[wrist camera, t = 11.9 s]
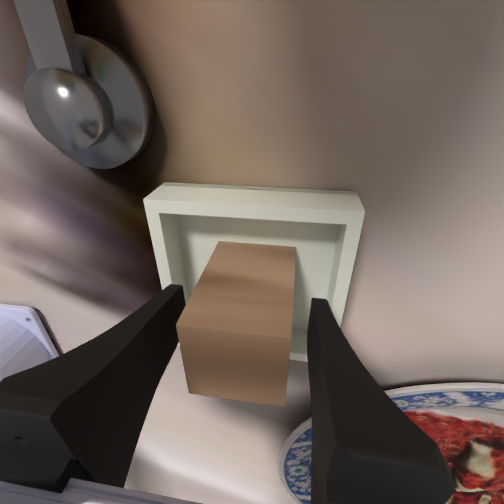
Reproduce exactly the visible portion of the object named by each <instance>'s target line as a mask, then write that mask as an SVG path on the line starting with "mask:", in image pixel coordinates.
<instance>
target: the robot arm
mask: <svg viewBox="0 0 504 504" xmlns="http://www.w3.org/2000/svg"><path fill="white" fill-rule="evenodd" d="M185 306H186V303H185V297H184V291H183V285H176V284H170V285H168V286H167V287H166V288H164V289H163V290H162V291H161V292H159V293H158V294H157V295H156V296H154V297H153V298H152V299H151V300H149V301H148V302H147V303H145V304H144V305H143V306H142V307H140V308H139V309H138V310H136V311H135V312H134V313H132V314H131V315H129V316H128V317H126V318H125V319H124V320H122V321H121V322H119V323H118V324H117V325H115V326H113V327H112V328H110V329H109V330H107V331H106V332H104V333H102V334H100V335H99V336H97V337H95V338H94V339H92V340H90V341H88V342H86V343H84V344H82V345H80V346H78V347H77V348H75V349H73V350H71V351H69V352H67V353H65V354H62V355H60V356H59V354H58V352H57V350H56V349H55V347H54V345H53V343H52V341H51V339H50V337H49V335H48V333H47V332H46V330H45V328H44V326H43V324H42V322H41V320H40V318H39V316H38V315H37V313H36V311H35V310H34V309H33V308H31V307H26V306H17V305H8V304H0V504H201V503H196V502H191V501H186V500H181V499H176V498H171V497H166V496H161V495H156V494H151V493H145V492H140V491H135V490H130V489H125V488H124V485H125V481H126V478H127V474H128V471H129V468H130V464H131V461H132V457H133V454H134V451H135V448H136V445H137V442H138V439H139V436H140V433H141V430H142V427H143V424H144V421H145V418H146V415H147V413H148V410H149V407H150V404H151V402H152V399H153V396H154V394H155V391H156V388H157V386H158V384H159V382H160V379H161V377H162V375H163V373H164V371H165V369H166V367H167V365H168V363H169V361H170V359H171V357H172V355H173V353H174V351H175V349H176V347H177V345H178V343H179V338H178V333H177V328H176V324H177V322H178V320H179V318H180V316H181V314H182V312H183V310H184V308H185ZM307 359H308V371H309V382H310V393H311V407H312V452H311V504H445V503H446V502H447V501H448V500H449V499H450V498H451V496H452V495H453V493H454V491H455V484H454V480H453V478H452V475H451V472H450V469H449V467H448V465H447V463H446V461H445V459H444V457H443V455H442V453H441V451H440V449H439V447H438V445H437V443H436V442H435V441H434V440H432V439H431V438H430V437H429V436H428V435H427V434H426V433H425V432H424V431H423V430H421V429H420V428H419V427H418V426H417V425H416V424H415V423H414V422H413V421H412V420H411V419H410V418H409V417H408V416H407V415H406V414H405V413H404V412H403V411H402V410H401V409H400V408H399V407H398V406H397V405H396V404H395V403H394V402H393V401H392V399H391V398H390V397H389V396H388V395H387V394H386V393H385V392H384V391H383V389H382V388H381V387H380V386H379V385H378V384H377V382H376V381H375V380H374V379H373V377H372V376H371V375H370V374H369V372H368V371H367V370H366V368H365V367H364V366H363V364H362V363H361V361H360V360H359V358H358V357H357V355H356V354H355V352H354V351H353V349H352V348H351V346H350V345H349V343H348V341H347V340H346V338H345V336H344V334H343V332H342V331H341V329H340V327H339V325H338V323H337V321H336V319H335V317H334V315H333V312H332V310H331V308H330V305H329V302H328V301H327V299H322V298H312V300H311V307H310V314H309V322H308V329H307Z"/></svg>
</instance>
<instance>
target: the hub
mask: <svg viewBox="0 0 504 504" xmlns="http://www.w3.org/2000/svg"><path fill="white" fill-rule="evenodd" d="M75 35H76V39H77V42H78V46H79V50H80V53H81V57H82V61H83V65H84V68H85V72H86V74H88V75H89V76H90V77H92V78H93V79H94V80H95V81H96V82H97V83H98V84H99V85H100V87H101V88H102V89H103V91H104V92H105V94H106V96H107V98H108V100H109V102H110V105H111V108H112V114H113V125H112V129H111V132H110V134H109V136H108V137H107V139H106V140H104V141H103V142H102V143H99V144H97V145H94V146H91V147H88V148H85V149H83V150H79V151H68V150H64V149H61V148H59V147H57V146H56V147H57V148H58V149H59V150H60V151H61V152H62V153H64V154H65V155H66V156H67V157H69V158H71V159H72V160H74V161H76V162H78V163H80V164H82V165H85V166H87V167H91V168H97V169H109V168H114V167H117V166H120V165H122V164H124V163H126V162H128V161H130V160H132V159H133V158H135V157H137V156H138V155H140V154H141V153H142V152H143V151H144V150H145V149H146V148H147V146H148V144H149V143H150V141H151V138H152V136H153V132H154V127H155V108H154V102H153V98H152V95H151V91H150V89H149V86H148V84H147V82H146V80H145V78H144V76H143V74H142V73H141V71H140V70H139V68H138V67H137V66H136V64H135V63H134V62H133V61H132V60H131V59H130V57H129V56H127V55H126V54H125V53H124V52H123V51H122V50H121V49H119V48H118V47H116V46H115V45H113V44H111V43H110V42H108V41H105V40H103V39H100V38H96V37H92V36H86V35H80V34H75ZM35 70H37V67H36V64H35V62H34V59H33V56H32V53H31V54H30V56H29V58H28V62H27V65H26V71H25V82H26V80H27V78H28V77H29V75H30V74H31V73H32V72H33V71H35ZM54 146H55V145H54Z"/></svg>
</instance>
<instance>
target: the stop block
mask: <svg viewBox="0 0 504 504" xmlns="http://www.w3.org/2000/svg"><path fill="white" fill-rule="evenodd" d="M295 257H296V247H292V246H279V245H266V244H253V243H240V242H227V241H218V243H217V245H216V247H215V249H214V251H213V253H212V255H211V257H210V259H209V261H208V263H207V265H206V267H205V269H204V271H203V273H202V275H201V277H200V279H199V280H198V282H197V284H196V286H195V288H194V290H193V292H192V294H191V296H190V298H189V300H188V302H187V304H186V306H185V308H184V310H183V312H182V314H181V316H180V318H179V320H178V322H177V324H176V328H177V333H178V338H179V344H180V349H181V354H182V359H183V364H184V370H185V375H186V380H187V385H188V390H189V393H191V394H197V395H204V396H211V397H218V398H224V399H231V400H238V401H245V402H251V403H258V404H265V405H272V406H278V407H285V397H286V387H287V377H288V367H289V357H290V347H291V335H292V316H293V296H294V276H295Z"/></svg>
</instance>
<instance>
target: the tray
mask: <svg viewBox="0 0 504 504" xmlns="http://www.w3.org/2000/svg"><path fill="white" fill-rule="evenodd" d="M143 201H144V206H145V210H146V215H147V220H148V225H149V229H150V234H151V239H152V243H153V248H154V253H155V258H156V262H157V267H158V272H159V277H160V281H161V286H162V290H163V289H164V288H166V287H167V286H168V285H170V284H176V285H183V291H184V297H185V303H186V304H187V302H188V300H189V298H190V296H191V294H192V292H193V290H194V288H195V286H196V284H197V282H198V280H199V279H200V277H201V275H202V273H203V271H204V269H205V267H206V265H207V263H208V261H209V259H210V257H211V255H212V253H213V251H214V249H215V247H216V245H217V243H218V241H227V242H240V243H253V244H266V245H279V246H292V247H296V257H295V276H294V296H293V316H292V335H291V347H290V357H289V360H297V361H305V362H308V359H307V329H308V322H309V314H310V307H311V300H312V298H322V299H327V301H328V302H329V305H330V308H331V310H332V312H333V315H334V317H335V319H336V321H337V323H338V325H339V327H340V326H341V322H342V317H343V312H344V308H345V303H346V299H347V294H348V289H349V285H350V280H351V276H352V271H353V266H354V262H355V257H356V252H357V248H358V243H359V239H360V234H361V229H362V225H363V220H364V216H365V210H364V208H363V205H362V203H361V201H360V198H359V196H358V194H357V191H338V190H317V189H296V188H275V187H254V186H233V185H212V184H191V183H170V182H164V183H163V184H162V185H161V186H159V187H158V188H157V189H156V190H154V191H153V192H152V193H150V194H149V195H148V196H147V197H145V198H144V199H143ZM177 346H180V344H179V343H178V345H177Z"/></svg>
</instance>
